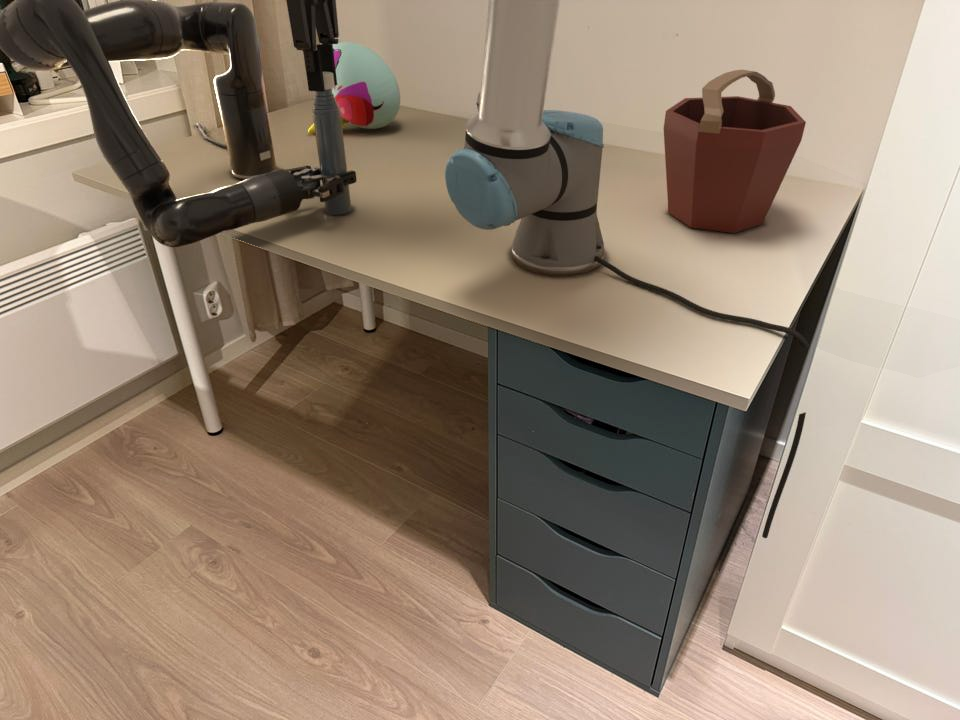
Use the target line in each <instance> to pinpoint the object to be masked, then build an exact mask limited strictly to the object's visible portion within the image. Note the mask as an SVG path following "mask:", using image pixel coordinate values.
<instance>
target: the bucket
mask: <svg viewBox="0 0 960 720" xmlns="http://www.w3.org/2000/svg"><path fill="white" fill-rule="evenodd" d="M746 77H747V78H748V79H749V80H750V81H751V82H752V83H754V84H755V85H756V88H757V91H758V98H757V99H754V98H750V97H744V96H739V95H736V96H733V95H732V96H731V95H730V96H722V92H724V91H725V90H726V89H727V88H728V87H729V86H730V85H732V84H734V83H735V82H737V81H738V80H740V79H743V78H746ZM701 96H702V97H685V98H683V99H682V100H680V101H679V102H677V103H676V104H674V105H672V106H670V107H669V108H668V109H667V110H665V115H664V122H663V143H664V156H665V157H664V159H665V161H664V162H665V177H666V179H665V180H666V192H667V193H666V194H667V196H666V197H667V212H668V214H670V215H671V216H672V217H674V218H676V219H677V220H679V221H680V222H681V223H683V224H684V225H686V226H687V227H689V228H691V229H698V230H707V231H715V232H721V233H732V234H735V233H739V232H742V231H745V230H749V229H751V228H754V227H757V226H760V225H762V224H764V222H765V219H766V218H767V215H768V213H769V211H770V209H771V207H772V205H773V202H774V201H775V198H776V196H777V195H778V192H779V189H780V187H781V185H782V183H783V181H784V179H785V177H786V175H787V173H788V170H789V168H790V167H791V164H792V162H793V159H794V158H795V155H796V153H797V151H798V150H799V149H798V148H799V147H800V145H801V142H802V139H803V135H804V132H805V128H806V125H807V124H806V120H805V119H804V118H803V117H802V116H801V115H800V114H799V113H798V112H797V111H796V110H795V109H794V108H793V107H792V106H791V105H787V104H781V103H776V102H774V101H775V98H776V92H775V88H774V83H773V82H772V81H771V80H769V79H768V78H767V77H766V76H765V75H763V74H761V73H760V72H758V71H755V70H748V69H735V70H732V71H727V72H724V73H722V74H720V75H717V76H716V77H714V78H713V79H711V80H709V81H708V82H707V83H706V84H705V85H704V86H703V87H702V88H701Z"/></svg>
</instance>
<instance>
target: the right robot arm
mask: <svg viewBox="0 0 960 720" xmlns="http://www.w3.org/2000/svg"><path fill="white" fill-rule="evenodd" d="M285 1H286V7H287V12H288V13H287V14H288V19H289V25H290V32H291V36H292V43H293V47H294V49H296V50H297V51H302V54H303V60H304V68H305V75H306V81H307V89H308V91H309V92H316V91H317V92H324V91H325V88H324V80H323V72H332V73H333V76H334V85H335V86H336V85H337V78H336V69H335V61H334V52H333V45H334V44H338V43H339V34H340V33H339V32H340V31H339V21H338V10H337V9H338V8H337V0H285ZM560 2H561V0H488V6H487V7H488V8H487V15H486V16H487V17H486V18H487V19H486V28H485V38H484V39H485V40H484V51H483V61H482V70H481V71H482V74H481V83H480V91H481V92H480V91H479V92H480V103H479V112H478V111H477V113H476V114H475V115H474V116H473V117H471V118H470V119H468V121H467V122H466V125H465V137H464V147H463V148H462V149H460V148H459V149H458V150H456V151H455V152H454V153H453V155H451V156H450V157H449V158H448V160H447V162H446V164H445V168H444V169H445V171H444V180H445V185H446V190H447V193H448V196H449V198H450V201H451V202H452V203H453V205H454V207H455V209H456V211H457V212H458V214H459V215H460V216H461V217H462V218H463V219H464V220H465V221H466V222H467V223H469V224H470V225H472V226H474V227H476V228H478V229H481V230H487V231H489V230H495V229H498V228H501V227H502V228H503V227H507V226H511V224H512V225H513V224H514V223H515V222H516V221H518V220H519V224H518V226H517V229H516V232H515V234H514V237H513V240H512V245H511V257H512V259H513V261H514V262H515V263H516V264H517V265H519V267H521V268H524V269H526V270H528V271H530V272H532V273H533V272H534V273H537V274H541V275H547V276H558V277H559V276H560V277H561V276H573V275H574V276H575V275H580V274H584V273H588V272H590V271H593V270H595V269H596V268H598V267H599V266H600V265H602V266H603V267H605V268H607V269H608V270H610V271H611V272H613V273H614V274H616V275H617V276H618V277H621V278H622V279H624V280H626V281H628V282H630V283H632V284H634V285H636V286H639V287H641V288H645V289H647V290H651V291H653V292H657V293H660V294H662V295H665V296H667V297H669V298H671V299H673V300H676V301H677V302H679V303H681V304H683V305H685V306H686V307H688V308H690V309H692V310H694V311H696V312H699V313H701V314H704V315H707V316H709V317H713V318H716V319H720V320H725V321H730V322H737V323H742V324H748V325H752V326H757V327H760V328H764V329H767V330H770V331H776V332H780V333H785V334H788V335H789V336H792V337H793V338H794V339H796V341H797V342H798V343H799V344H800V345H801V347H802V348H804V349H808V350H809V349H810V347H811V346H810V344H809V343H808V341H807V340H806V338H805V337H804V336H803V335H802V334H801V333H800V332H798V331H797V330H795V329H793V328H790V327H788V326H784V325H779V324H775V323H769V322H767V321H762V320H758V319H756V318H751V317H745V316H740V315H739V316H738V315H734V314H733V315H732V314H728V313H723V312H718V311H715V310H711V309H708V308H706V307H703V306H701V305H699V304H696V303H694V302H692V301H691V300H689V299H687V298H685V297H683V296H682V295H680V294H678V293H676V292H673V291H671V290H669V289H667V288H664V287H660V286H658V285H655V284H653V283H649V282H647V281H643V280H640V279H638V278H636V277H633V276H632V275H630V274H628V273H626V272H624V271H622V270H621V269H619V268H618V267H616V266H615V265H613V264H612V263H610V262H608V261H606V260H605V259H604V258H605V242H604V239H603V233H602V230H601V226H600V222H599V218H598V213H597V212H598V201H599V200H598V199H599V189H600V179H601V169H602V159H603V149H604V147H605V144H604V126H603V124H602V122H601V121H600V120H599V119H598V118H596V117H594V116H591V115H589V114H585V113H584V114H583V113H581V112H574V111H566V110H556V109H545V102H546V95H547V89H548V82H549V76H550V69H551V63H552V57H553V56H552V55H553V49H554V43H555V36H556V30H557V25H558V24H557V23H558V17H559V9H560ZM317 39H318V43H319V44H317ZM806 414H807V412H806V411H804V412H802V413H799V414H798V419H797V424H796V429H795V432H794V436H793V439H792V443H791V447H790V450H789V453H788V456H787V460H786V463H785V466H784V469H783V471H782V474H781V477H780V480H779V483H778V485H777V487H776V491H775V493H774V496H773V499H772V503H771V505H770V508H769V511H768V513H767V518H766V521H765V524H764V528H763V531H762V535H761V537H762V538H764V539H767V538H768V537H769V534H770V531H771V530H770V529H771V527H772V524H773V520H774V517H775V514H776V511H777V508H778V505H779V502H780V499H781V497H782V494H783V491H784V488H785V486H786V483H787V480H788V477H789V475H790V472H791V469H792V466H793V463H794V460H795V458H796V455H797V451H798V448H799V444H800V441H801V436H802V433H803V429H804V425H805V420H806Z"/></svg>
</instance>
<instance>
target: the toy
mask: <svg viewBox="0 0 960 720" xmlns="http://www.w3.org/2000/svg"><path fill="white" fill-rule="evenodd" d="M332 45H333V52H334V61H335V69H336V78H337V85H336V86H335V87H334V88H331V89H332V93H333V94H334V97H335V99H336V101H337V105H338V106H339V109H340V114H341V122H342V126H345V125H347V124H351V125H353V126H356V127H358V128H361V129H366V130H378V129H382V128H384V127H386V126H388V125H390V124H391V123H392V122H393V121H394V120H395V118H396V117H397V115H398V113H399V111H400V107H401V91H400V86H399V84H398V80H397V78H396V76H395V74H394V72H393V71H392V69H391V67H390V66H389V65H388V64H387V62H386V61H385V60H384V59H383V58H382V57H381V56H380V55H379V54H378V53H376V52H375V51H374V50H372V49H370V48H369V47H367V46H365V45H362V44H360V43H357V42H353V41H352V42H351V41H341V42H338V44H332ZM307 132H308V134H315V128H314V123H312V124H311V126H310V127H309V128H308V129H307Z"/></svg>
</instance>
